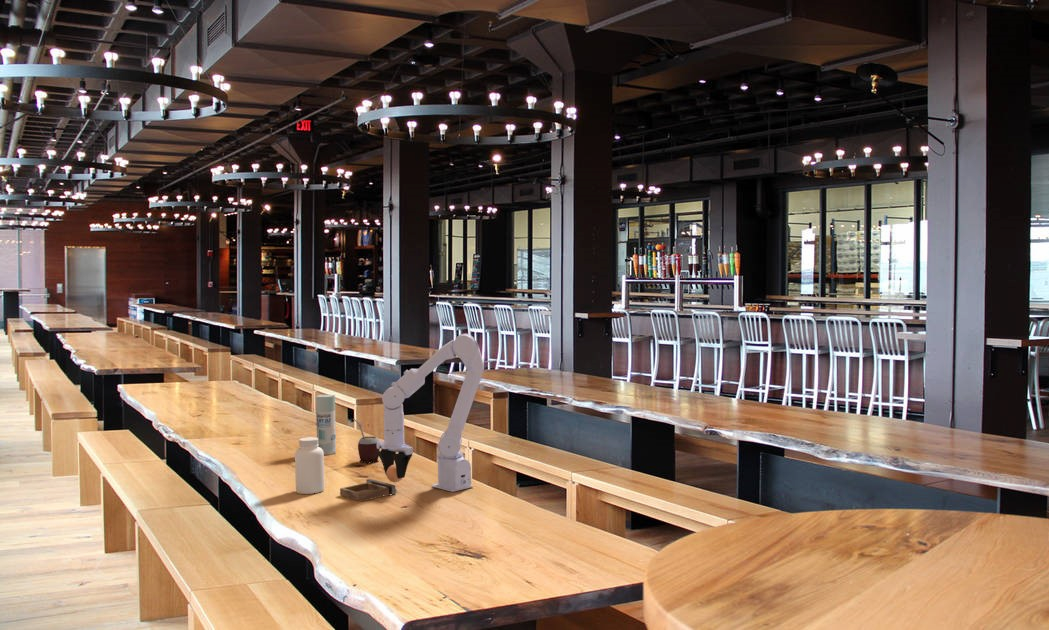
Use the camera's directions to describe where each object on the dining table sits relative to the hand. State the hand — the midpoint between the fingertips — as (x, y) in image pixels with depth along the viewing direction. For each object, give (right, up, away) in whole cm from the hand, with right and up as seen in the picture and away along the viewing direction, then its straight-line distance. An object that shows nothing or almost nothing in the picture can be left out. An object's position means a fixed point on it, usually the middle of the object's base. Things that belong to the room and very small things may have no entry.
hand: (395, 476), depth 249 cm
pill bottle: (-24, -4, -3) cm, 24 cm away
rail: (-4, -4, -3) cm, 6 cm away
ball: (0, -2, 0) cm, 2 cm away
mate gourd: (-14, -2, +36) cm, 38 cm away
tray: (-7, -4, -8) cm, 11 cm away
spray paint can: (-31, -2, +51) cm, 60 cm away
